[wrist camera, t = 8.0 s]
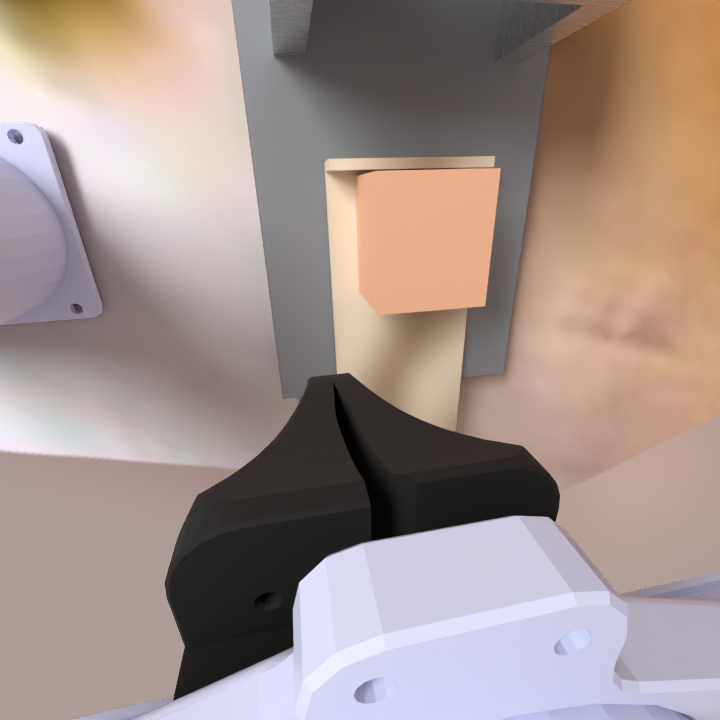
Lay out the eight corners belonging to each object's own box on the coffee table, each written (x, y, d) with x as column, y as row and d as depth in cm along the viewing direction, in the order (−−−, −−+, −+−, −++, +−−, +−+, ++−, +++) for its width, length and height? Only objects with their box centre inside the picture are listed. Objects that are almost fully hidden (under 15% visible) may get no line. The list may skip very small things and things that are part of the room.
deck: (283, 385, 22) (283, 398, 20) (183, -390, 11) (169, -478, 10) (489, 362, 24) (503, 373, 22) (575, -310, 13) (611, -373, 12)
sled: (341, 456, 22) (354, 513, 18) (324, 162, 16) (337, 150, 12) (451, 440, 23) (486, 491, 19) (476, 159, 17) (535, 148, 13)
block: (358, 291, 18) (377, 315, 14) (355, 176, 16) (375, 170, 12) (446, 285, 19) (485, 306, 15) (454, 174, 17) (500, 168, 13)
